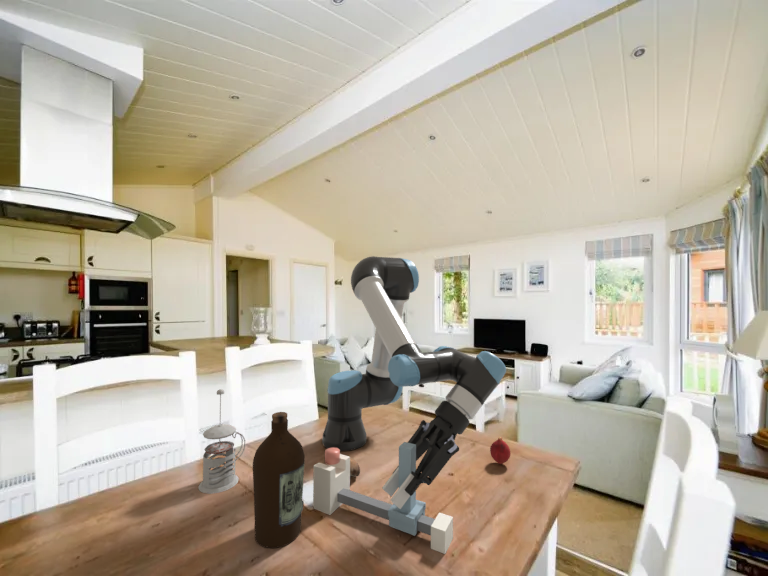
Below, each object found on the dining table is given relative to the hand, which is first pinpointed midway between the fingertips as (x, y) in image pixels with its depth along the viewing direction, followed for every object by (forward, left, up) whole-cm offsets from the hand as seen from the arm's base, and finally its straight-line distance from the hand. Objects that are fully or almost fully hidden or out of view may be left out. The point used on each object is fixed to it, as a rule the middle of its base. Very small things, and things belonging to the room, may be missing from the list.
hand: (391, 498), depth 72 cm
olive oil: (-21, -11, -8) cm, 25 cm away
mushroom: (-21, +14, -8) cm, 27 cm away
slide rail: (-3, +3, -8) cm, 9 cm away
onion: (+15, +43, -8) cm, 46 cm away
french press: (-49, -4, -8) cm, 50 cm away
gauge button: (-18, +3, +2) cm, 18 cm away
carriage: (+2, +3, -6) cm, 7 cm away
